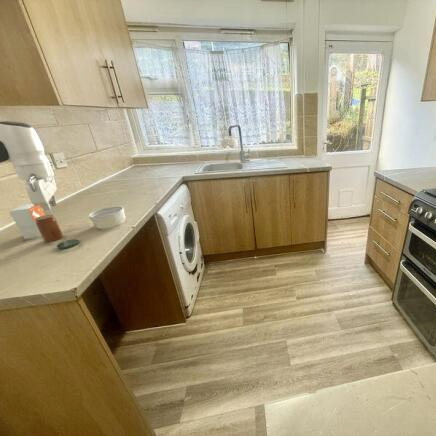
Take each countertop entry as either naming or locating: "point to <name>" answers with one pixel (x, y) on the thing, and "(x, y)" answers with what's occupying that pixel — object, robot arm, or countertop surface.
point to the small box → (27, 219)
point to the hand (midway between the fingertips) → (51, 209)
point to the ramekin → (108, 217)
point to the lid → (67, 244)
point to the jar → (49, 228)
